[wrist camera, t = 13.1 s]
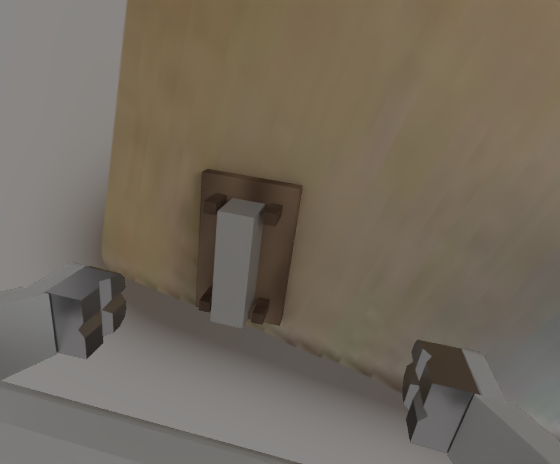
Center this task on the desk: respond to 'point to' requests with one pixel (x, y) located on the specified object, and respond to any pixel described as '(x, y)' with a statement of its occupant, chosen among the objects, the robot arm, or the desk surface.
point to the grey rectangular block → (236, 261)
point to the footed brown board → (274, 241)
